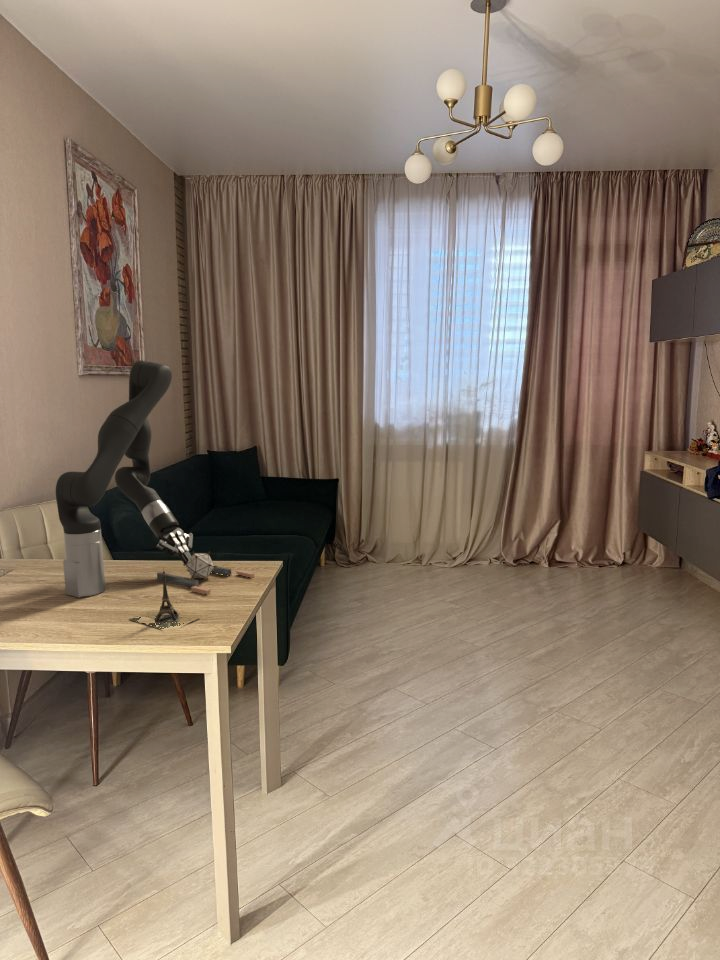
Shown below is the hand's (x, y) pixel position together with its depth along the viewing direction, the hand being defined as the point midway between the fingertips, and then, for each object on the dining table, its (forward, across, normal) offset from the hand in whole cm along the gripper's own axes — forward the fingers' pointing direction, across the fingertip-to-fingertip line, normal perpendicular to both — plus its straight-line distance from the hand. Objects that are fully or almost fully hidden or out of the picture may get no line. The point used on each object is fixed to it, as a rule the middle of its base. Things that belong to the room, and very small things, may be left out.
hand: (190, 563), depth 184 cm
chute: (+4, 0, +2) cm, 4 cm away
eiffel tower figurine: (+18, -27, -12) cm, 35 cm away
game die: (+6, 0, 0) cm, 6 cm away
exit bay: (+12, 0, -7) cm, 14 cm away
